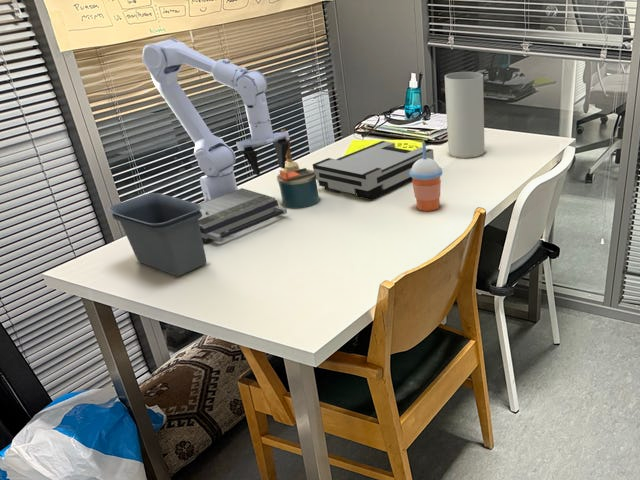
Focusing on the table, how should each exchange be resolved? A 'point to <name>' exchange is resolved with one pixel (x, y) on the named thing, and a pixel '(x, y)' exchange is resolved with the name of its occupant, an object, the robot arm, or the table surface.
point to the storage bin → (163, 231)
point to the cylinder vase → (465, 114)
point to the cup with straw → (426, 182)
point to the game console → (369, 170)
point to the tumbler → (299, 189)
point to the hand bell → (289, 158)
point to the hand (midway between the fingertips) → (269, 170)
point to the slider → (288, 174)
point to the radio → (235, 213)
